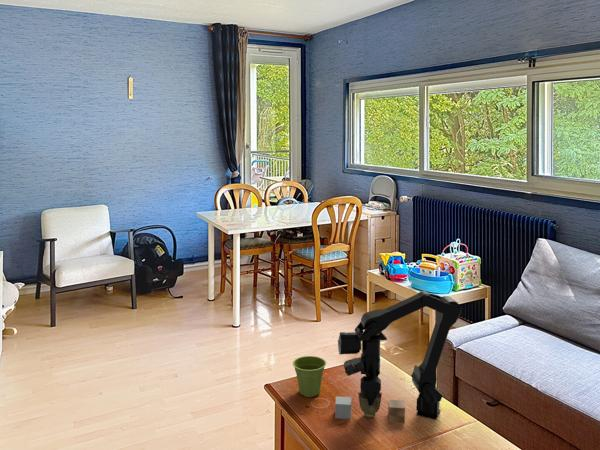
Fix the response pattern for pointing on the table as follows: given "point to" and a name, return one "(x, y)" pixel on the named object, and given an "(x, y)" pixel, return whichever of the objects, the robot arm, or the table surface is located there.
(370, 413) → the ornate bronze bell
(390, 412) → the walnut block
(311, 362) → the plant pot
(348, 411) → the slate grey block
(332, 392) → the table surface
